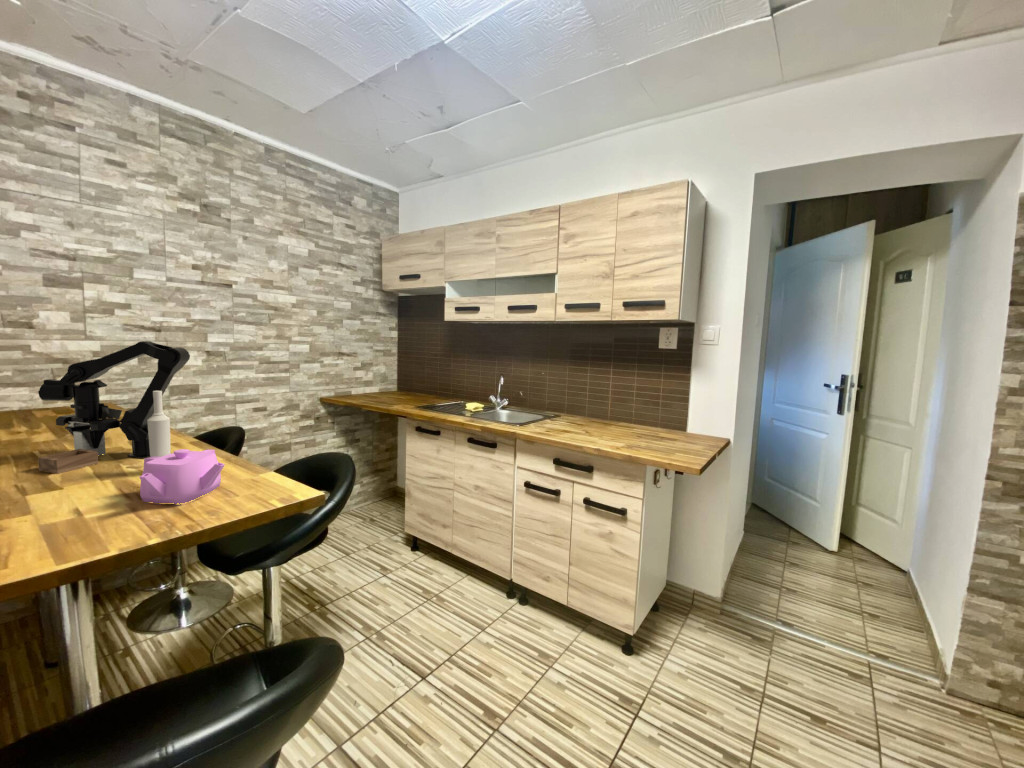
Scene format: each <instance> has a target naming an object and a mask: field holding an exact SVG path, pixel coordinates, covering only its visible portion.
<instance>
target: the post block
mask: <svg viewBox="0 0 1024 768" xmlns="http://www.w3.org/2000/svg"><path fill="white" fill-rule="evenodd" d="M37 461H38V462H37V463H38V471H40V472H44V471H46V472H47V473H50V472H51V474H56V475H59V474H63V473H66V472H71V471H74V470H79V469H83V468H86V466H87V467H90V465H91V466H94V465H93V464H95V465H98V464H99V456H98V451H91V450H84V449H77V450H75V449H71V450H68V451H62V452H57V453H54V454H53V453H52V454H49V455H44V456H39V457H37ZM97 463H98V464H97ZM82 467H83V468H82ZM46 472H45V473H46Z"/></svg>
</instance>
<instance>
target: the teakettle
mask: <svg viewBox="0 0 1024 768" xmlns="http://www.w3.org/2000/svg"><path fill="white" fill-rule="evenodd" d="M224 467H225V463H222V462H219V461H218V458H217V455H216V450H215V449H205V450H201V451H199V450H190V449H187V448H182V449H176V450H174V451H173V452H172V453H171V454H168V455H165V456H162V457H146V458H143V469H142V470H143V471H142V475H140V476H139V479H140V488H139V490H140V491H139V492H140V498H141V500H142V502H143V501H144V502H153V503H174V504H177V503H179V504H180V503H185V502H189V501H191V500H194V499H196V498H198V497H200V496H202V495H205V494H207V493H209V492H211V491H213V490H214V489H216V488H217V487H220V486H221V481H222V478H221V477H222V476H221V474H222V473H221V472H222V470H223V469H224ZM216 490H217V489H216ZM213 492H214V491H213ZM211 493H212V492H211ZM209 494H210V493H209ZM144 502H143V503H144Z"/></svg>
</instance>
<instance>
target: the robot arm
mask: <svg viewBox="0 0 1024 768" xmlns="http://www.w3.org/2000/svg"><path fill="white" fill-rule="evenodd" d="M145 355H146V356H148V357H150V358H153V359H156V360H157V371H156V372H155V375H154V376H153V377H152V380H151V381H150V383H149V385H148V387H147V389H146V390H145V392H144V393H143V395H142V397H141V399H140V401H139V403H138V404H137V406H136V407H135V408H131V409H128V410H125V412H124V413H123V416H122V418H121V415H122V412H123V410H122V409H117V408H110V407H109V405H106V404H105V403H103V402H101V401H100V389H99V388H106V387H108V384H107V383H105V382H103V381H102V380H101V379H98V378H100V377H101V376H103V375H105V374H106V373H108V372H109V371H110V370H112V369H113V368H115V367H118V366H120V365H122V364H125V363H127V362H130V361H132V360H135V359H137V358H138V359H139V358H140V357H142V356H145ZM190 358H191V354H190V353H189V350H187V349H186V348H183V347H178V346H176V347H173V346H170V345H169V346H168V345H165V344H164V345H163V344H161V343H160V344H159V343H156V342H153V341H150V340H143V341H142V340H141V341H138V342H137V343H135V344H132V345H130V346H127V347H125V348H121V349H119V350H117V351H115V352H112V353H109V354H106V355H105V356H102V357H99V358H94V359H89V360H83V361H80V362H76V363H71V364H70V365H69V366H68V367H67V372H66V373H65V374H64V375H63V376H62V378H60V379H55V378H53V379H52V378H49V379H44V380H43V384H41V386H40V387H39V390H38V392H37V393H38V397H39V398H40V399H41V400H42V401H44V402H45V401H47V402H49V401H51V402H56V401H57V402H69V401H72V399H73V403H74V404H70V408H71V409H74V413H73V414H65V415H60V416H58V417H57V418H55V425H56V426H59V427H60V426H61V427H62V426H65V425H66V424H67V426H65V427H64V429H65V430H67V432H69V433H70V434H71V435H72V436H73V437H74V434H73V431H79V430H84V431H85V433H86V435H87V437H88V439H89V441H90V443H91V445H92V447H93V449H96V448H98V447H99V444H100V442H101V439H102V437H103V435H105V433H106V432H107V431H109V430H111V429H112V430H113V429H117V428H120V430H121V432H122V433H123V434H124V435H125V436H126V439H127V441H130V442H131V452H132V453H130V454H127V457H130V458H137V459H145V458H149V457H150V448H149V436H148V423H147V420H148V419H149V418H150V417H151V416H153V413H154V399H153V391H162V397H163V395H164V394H165V392H166V390H167V388H168V387H169V385H170V383H171V382H172V379H173V378H174V376H175V375H176V374H177V372H179V371H180V370H181V369H183V367H184V366H185V365H186V364H187V363H188V361H189V360H190ZM95 379H97V380H95ZM90 380H93V381H90ZM77 383H79V384H77ZM120 418H121V419H120ZM85 429H87V430H85Z"/></svg>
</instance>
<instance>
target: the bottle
mask: <svg viewBox="0 0 1024 768" xmlns="http://www.w3.org/2000/svg"><path fill="white" fill-rule="evenodd" d="M153 399H154V413H153V416H151V417H150V418H149V419H148V420H147V423H148V436H149V448H150V457H162V456H165V455H168V454H172V453H171V449H172V447H171V418H170V417H169V416H167V415H166V414H165V413H164V411H163V396H162V391H153Z"/></svg>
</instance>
